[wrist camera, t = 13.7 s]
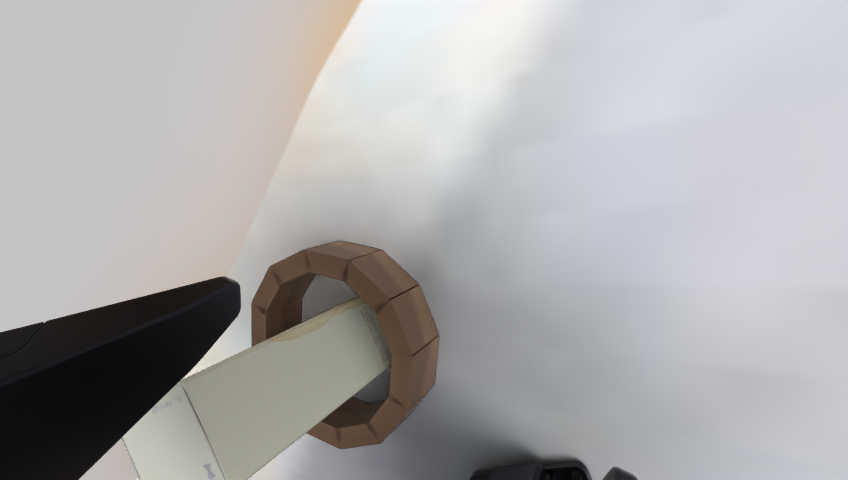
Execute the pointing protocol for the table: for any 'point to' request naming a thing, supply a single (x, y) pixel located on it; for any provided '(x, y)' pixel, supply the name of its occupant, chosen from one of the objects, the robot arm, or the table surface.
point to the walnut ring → (398, 318)
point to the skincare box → (259, 399)
